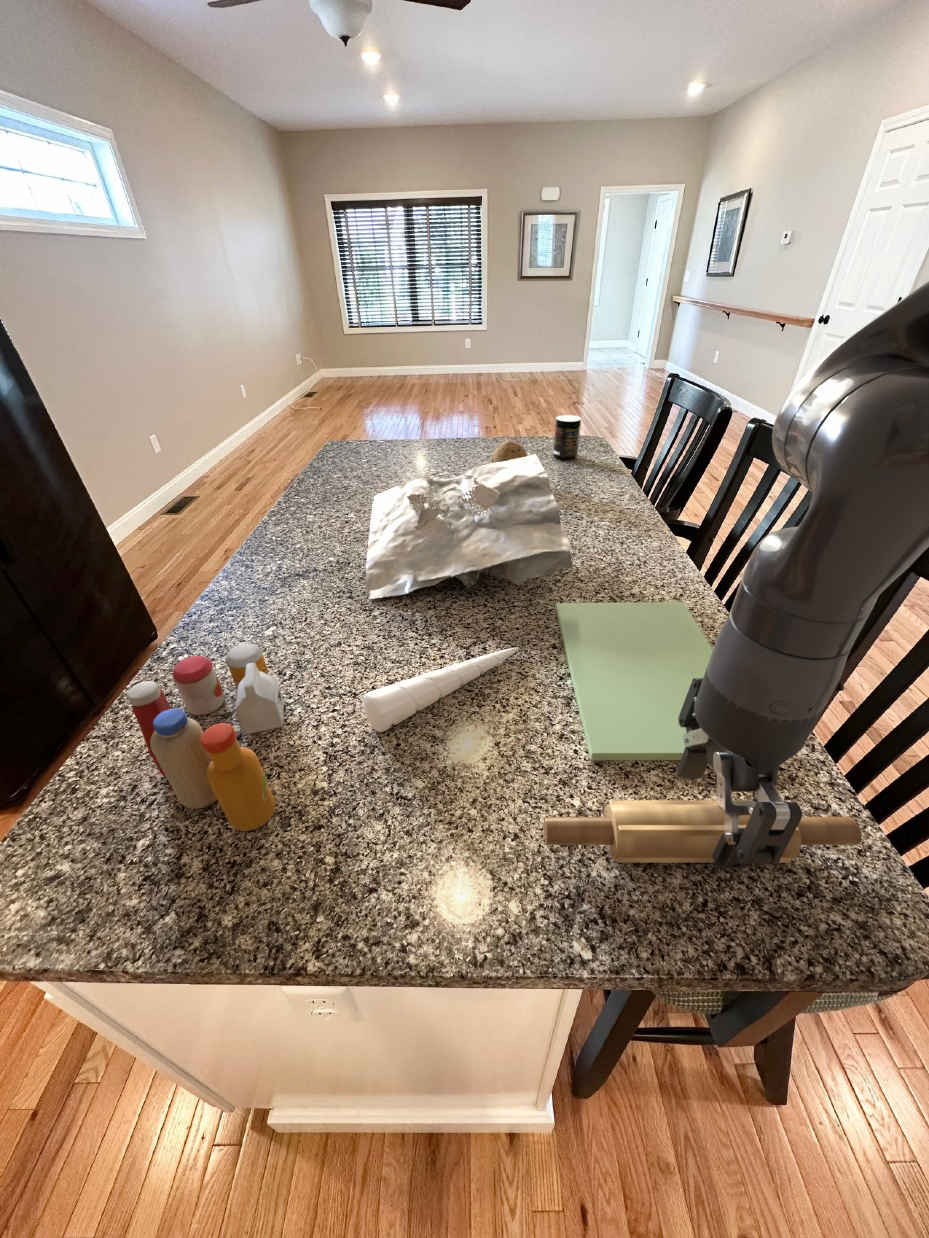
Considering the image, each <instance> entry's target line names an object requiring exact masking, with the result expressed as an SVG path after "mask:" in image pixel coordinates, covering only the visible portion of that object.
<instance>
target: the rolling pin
mask: <svg viewBox="0 0 929 1238" xmlns="http://www.w3.org/2000/svg"><path fill="white" fill-rule="evenodd" d="M749 819H750V815H741V816H739V817H738V828H746V826H747V823H748V821H749ZM723 832H724V812H723V811H722V810H720V809H719V808H718V805H717V799H713V800H711V799H707V800H706V799H704V800H703V799H701V800H700V799H695V800H694V799H693V800H692V799H691V800H690V799H689V800H688V799H686V800H685V799H684V800H683V799H681V800H679V799H678V800H677V799H676V800H675V799H673V800H672V799H670V800H669V799H666V800H665V799H664V800H663V799H661V800H659V799H657V800H656V799H655V800H653V799H648V800H647V799H645V800H643V799H642V800H641V799H640V800H639V799H637V800H623V799H622V800H621V799H619V800H615V799H614V800H613V799H612V800H611V799H610V800H609V801H608V804H606V805H605V808H604V816H545V817H543V838H544V843H545V845H546V846H607V850H608V853H609V855H610V857H611V858H612V859H614V860H615V861H614V862H615V863H622V864H623V863H626V864H627V863H634V864H635V863H638V864H639V863H640V864H641V863H643V864H644V863H645V864H650V863H651V864H653V863H656V864H657V863H659V864H660V863H661V864H663V863H665V864H666V863H667V864H668V863H669V864H670V863H671V864H672V863H673V864H674V863H675V864H677V863H680V864H681V863H683V864H684V863H687V864H688V863H690V864H691V863H693V864H695V863H697V864H699V863H700V864H702V863H705V864H706V863H707V864H708V863H709V864H710V863H711V864H713V863H714V861H713V858H712V854H713V852H714V850H715V848H716V846H717V843H718V841H719V839H720V837H721V835H722V833H723ZM861 841H862V829H861V828H860V825H859V823H858V822H857V821H856V819H854V818H852V817H851V816H802V818H801V820H800V822H799V824H798V826H797V828H796V830H795V832H794V834H793V836H792V838H791V840H790V842H789V844H788V845H787V847H786V849H785V851H784V853H783V855H782V857H781V859H780V861H779V863H778V864H780V863H782V864H784V863H785V864H790V863H791V862H792V859H795V858H797V856H799V854H800V852H801V848H802V846H858V845H859V844H860V843H861ZM714 864H715V863H714Z"/></svg>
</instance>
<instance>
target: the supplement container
mask: <svg viewBox="0 0 929 1238" xmlns="http://www.w3.org/2000/svg"><path fill="white" fill-rule="evenodd" d="M581 425H582V417H581V416H578V415H573V414H563V415H558V416H556V417H555V423H554V438H553V447H552V449H553V451H552V456H553V458H554V459H555V460H559V461H566V462H567V461H573V460H575V459H576V458H577V457H578V451H579V442H580V435H581V434H580V432H581Z"/></svg>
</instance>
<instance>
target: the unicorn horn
mask: <svg viewBox="0 0 929 1238" xmlns="http://www.w3.org/2000/svg"><path fill="white" fill-rule="evenodd" d="M519 649H520V647H518V646H517V647H516V646H515V647H510V648H506V649H502V650H498V651H495V652H491V653H488V654H485V655H481V656H478V657H474V658H471V659H468V660H466V661H462V662H458V663H455V664H452V665H448V666H445V667H443V668H439V669H437V670H433V671H430V672H426V673H424V674H421V675H418V676H415V677H412V678H408V679H406V680H402V681H398V682H395V683H393V684H390V685H386V686H384V687H383V686H382V687H379V688H377V689H374V690H370V691H369V692H367V693H365V695H364V696H363V698H362V707H363V711H364V714H365V716H366V719H367V720H368V722H369V724H370V727H372V728H373V730H375V731H377V732H378V733H383V732H385V731H387V730H389V729H391V728H392V725H394V726H395V725H397V724H399V723H401V722H402V721H405V720H406V719H408V718H410V717H411V716H413V715H415V714H416V713H417V711H418V712H420V711H421V710H423V709H426V708H427V707H429V706H431V705H432V704H434V703H436V702H437V701H439V700H440V698H441V699H442V698H445V697H446V696H448V695H449V694H451V693H453V692H455V691H456V690H458V689H460V688H461V685H462V686H464V685H466V684H468V683H469V682H472V681H473V680H475V679H476V678H478V677H480V676H481V673H482V674H485V673H487V672H488V671H490V670H491V669H493V668H494V667H496V666H497V665H499V664H500V662H504V661H505V660H506V659H509V658H510V657H511V656H513V655H514V654H515V653H516V652H517V651H518V650H519Z"/></svg>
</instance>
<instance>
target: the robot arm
mask: <svg viewBox="0 0 929 1238" xmlns="http://www.w3.org/2000/svg"><path fill="white" fill-rule="evenodd" d="M771 444H772V450H773V451H772V452H773V455H774V457H775V458H776V460H777V462H778V463H779V465H780V466H781V468H782V469H783V470H784V471H785V472H786V473H787V474H788V475H790V476H791V477H792V478H793V479H795V480H796V481H797V482H798V483H800V484H801V485H802V486H803V487H804V488H806V489H807V490H808V491H809V492H810V493H812V496H811V499H810V504H809V507H808V508H807V511H806V514H805V515H804V517H803V519H802V521H801V522H800V524H799V525H798V526H791V527H786V528H785V527H784V528H781V529H778V530H775V531H771V533H768V535H766V536H764V537H763V538H762V539H761V540H760V541H759V542H758V543H757V545H756V546H755V547H754V549H753V551H752V553H751V555H750V557H749V559H748V562H747V564H746V566H745V569H744V571H743V574H742V577H741V579H740V583H739V586H738V587H737V591H736V594H735V597H734V600H733V603H732V605H731V609H730V611H729V613H728V616H727V618H726V619H725V621H724V622H723V625H722V627H721V628H720V631H719V632H718V634H717V638H716V639H715V642H714V645H713V647H712V649H713V651H712V654H711V657H710V660H709V663H708V666H707V668H706V671H705V674H704V677H703V678H693V680H692V683H691V685H690V688H689V691H688V693H687V696H686V698H685V701H684V704H683V706H682V709H681V712H680V714H679V718H678V722H679V725H680V727H685V728H686V732H687V733H685V734H684V736H683V742H684V745H685V746H686V747H685V749H684V753H683V756H682V758H681V760H680V761H679V765H678V768H677V772H678V775H679V778H680V779H683V780H699V779H702V778H704V776H705V773H706V771H707V768H708V766H709V765H710V766H711V767H712V769H713V771H714V774H715V778H716V800H717V805H718V808H719V809H720V810H722V811H723V812H724V832H723V833H722V835H721V837H720V839H719V841H718V843H717V846H716V848H715V850H714V852H713V854H712V858H713V861H714V865H715V866H716V867H722V869H730V870H731V869H733V870H734V869H735V870H736V869H737V870H738V869H739V870H742V869H744V868H745V866H746V865H747V864H750V865H751V864H757V865H759V864H765V865H766V864H769V865H771V864H773V865H774V864H775V865H777V864H780V863H779V861H780V859H781V857H782V855H783V853H784V851H785V849H786V847H787V845H788V844H789V842H790V840H791V838H792V836H793V834H794V832H795V830H796V828H797V826H798V824H799V822H800V820H801V818H802V817H803V811H802V808H801V806H800V804H799V803H798V802H796V801H784V800H783V798H782V796H781V794H780V793H779V792H778V790H777V788H776V786H777V783H778V773H779V769H780V766H781V765H782V764H784V763H785V762H787V761H788V760H790V759H791V758H793V757H794V756H796V755H797V754H798V753H799V752H801V750H802V749H803V747H804V746H805V744H806V742H807V741H808V739H809V737H810V735H811V733H812V731H813V729H814V727H815V725H816V724H817V722H818V721H819V719H820V717H821V715H822V713H823V711H824V710H825V708H826V706H827V704H828V702H829V700H830V699H831V697H832V695H833V693H834V691H835V689H836V687H837V685H838V684H839V682H840V680H841V678H842V675H843V673H844V669H845V667H846V663H847V660H848V657H849V655H850V652H851V650H852V648H853V646H854V644H855V642H856V640H857V639H858V637H859V635H860V633H861V631H862V630H863V628H864V626H865V625H866V622H867V620H868V618H869V617H870V615H871V613H872V611H873V609H874V607H875V604H876V603H877V600H878V598H879V596H880V595H881V594H882V593H883V592H884V591H885V590H886V589H887V588H888V587H889V586H890V585H891V584H892V583H893V582H894V581H895V580H897V579H898V578H899V577H900V576H901V575H902V574H903V573H905V571H907V570H908V569H909V568H910V567H911V566H912V565H913V563H915V561H916V560H917V559H919V557H920V556H922V554H923V553H924V552H925V551H927V549H928V548H929V280H928V281H927V282H925V283H924V284H922V285H920V286H919V287H918V288H916V289H915V290H913V291H911V293H909V294H907V295H906V296H905V297H904V298H902V299H900V300H899V301H898V302H896V303H895V304H894V305H892V306H890V307H889V308H888V309H886V310H885V311H884V312H882V313H881V314H879V315H878V316H877V317H875V318H874V319H872V320H871V321H870V322H868V323H867V324H865V325H864V326H863V327H861V328H859V330H857V331H856V332H854V333H853V334H851V335H850V336H849V337H847V338H846V339H844V340H843V341H842V342H840V343H839V344H838V345H837V346H836V347H834V348H833V349H832V350H830V351H829V352H828V353H827V354H826V355H824V356H823V357H822V358H821V359H820V360H818V362H816V364H814V365H813V366H812V367H811V368H810V369H809V371H808V372H807V373H806V374H805V375H804V376H802V378H801V379H800V380H799V381H798V382H797V384H796V385H795V386H794V387H793V388H792V390H791V391H790V393H789V394H788V395H787V397H786V399H785V400H784V402H783V403H782V405H781V407H780V409H779V411H778V413H777V415H776V417H775V421H774V424H773V428H772V434H771ZM693 713H695V715H693ZM733 792H734V793H735V792H736V793H754V797H753V798H752V799H732V793H733ZM741 815H750V819H749V821H748V823H747V826H746V828H738V817H739V816H741Z"/></svg>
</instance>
